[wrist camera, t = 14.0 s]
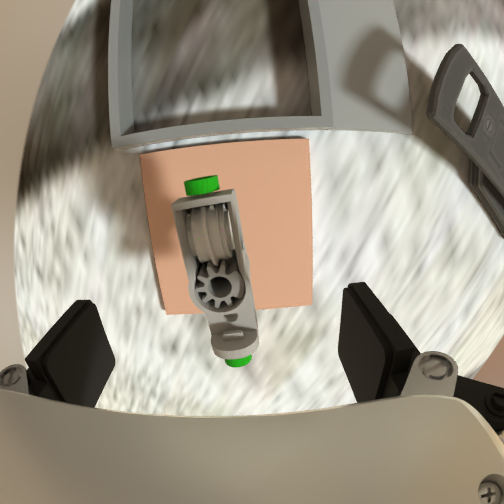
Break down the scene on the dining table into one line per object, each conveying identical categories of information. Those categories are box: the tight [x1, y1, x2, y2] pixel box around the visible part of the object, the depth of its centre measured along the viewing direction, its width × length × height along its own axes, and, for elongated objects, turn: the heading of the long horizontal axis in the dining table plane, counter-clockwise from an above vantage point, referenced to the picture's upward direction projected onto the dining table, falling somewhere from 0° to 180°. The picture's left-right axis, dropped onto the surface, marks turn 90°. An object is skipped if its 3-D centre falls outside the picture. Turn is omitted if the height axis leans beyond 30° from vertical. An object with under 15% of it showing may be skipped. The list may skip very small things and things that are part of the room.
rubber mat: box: [140, 139, 313, 315], centre depth 24 cm, size 13×14×1 cm
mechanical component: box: [171, 175, 259, 367], centre depth 19 cm, size 3×10×10 cm, turn 9°
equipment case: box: [108, 0, 413, 149], centre depth 17 cm, size 24×16×3 cm, turn 94°
